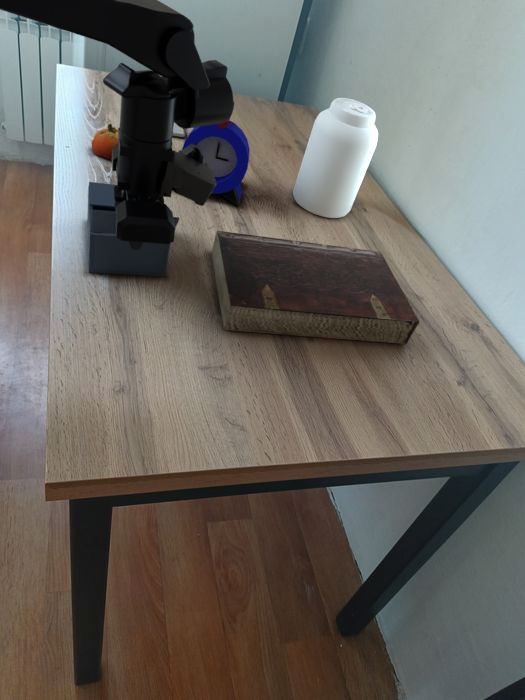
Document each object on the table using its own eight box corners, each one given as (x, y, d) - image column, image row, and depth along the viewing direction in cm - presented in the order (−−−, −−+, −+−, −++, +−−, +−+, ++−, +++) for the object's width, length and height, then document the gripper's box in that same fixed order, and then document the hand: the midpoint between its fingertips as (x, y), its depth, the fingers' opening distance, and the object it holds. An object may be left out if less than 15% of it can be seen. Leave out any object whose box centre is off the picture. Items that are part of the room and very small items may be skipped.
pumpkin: (132, 135, 108) (132, 118, 101) (136, 169, 108) (137, 155, 101) (91, 136, 106) (88, 119, 99) (95, 170, 106) (92, 156, 99)
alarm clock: (173, 192, 99) (185, 111, 89) (184, 164, 108) (196, 87, 98) (238, 208, 101) (257, 131, 91) (243, 179, 110) (261, 105, 100)
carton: (165, 276, 81) (171, 236, 76) (88, 272, 77) (89, 229, 73) (156, 228, 90) (161, 189, 85) (87, 222, 86) (88, 181, 81)
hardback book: (370, 272, 97) (381, 249, 93) (405, 345, 84) (419, 322, 80) (211, 253, 88) (217, 227, 85) (223, 331, 76) (230, 304, 72)
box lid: (170, 236, 76) (170, 238, 76) (90, 229, 73) (90, 231, 73) (179, 217, 70) (179, 219, 70) (92, 209, 67) (92, 211, 67)
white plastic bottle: (346, 195, 117) (382, 102, 103) (352, 225, 107) (392, 127, 94) (291, 181, 115) (320, 85, 101) (291, 211, 106) (324, 108, 92)
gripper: (231, 181, 56) (207, 298, 66) (205, 108, 68) (188, 216, 79) (120, 168, 52) (113, 293, 63) (114, 94, 65) (109, 209, 75)
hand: (135, 249), depth 70 cm, fingers closed
